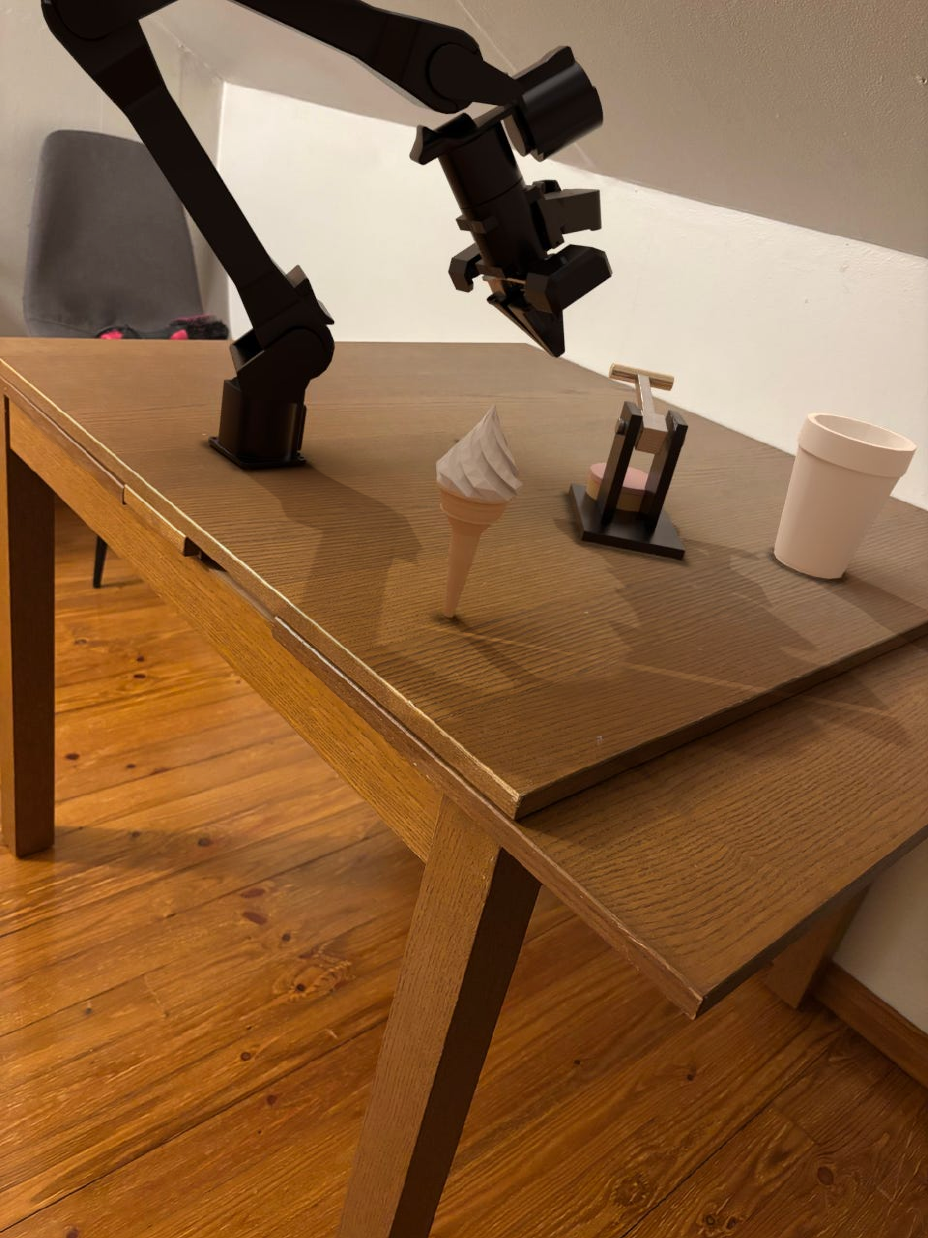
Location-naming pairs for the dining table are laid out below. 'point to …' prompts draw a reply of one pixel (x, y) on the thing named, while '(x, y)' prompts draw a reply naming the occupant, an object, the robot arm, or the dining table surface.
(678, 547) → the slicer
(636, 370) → the lever
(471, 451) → the ice cream cone
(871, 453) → the foam cup
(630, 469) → the cake
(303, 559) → the dining table surface
